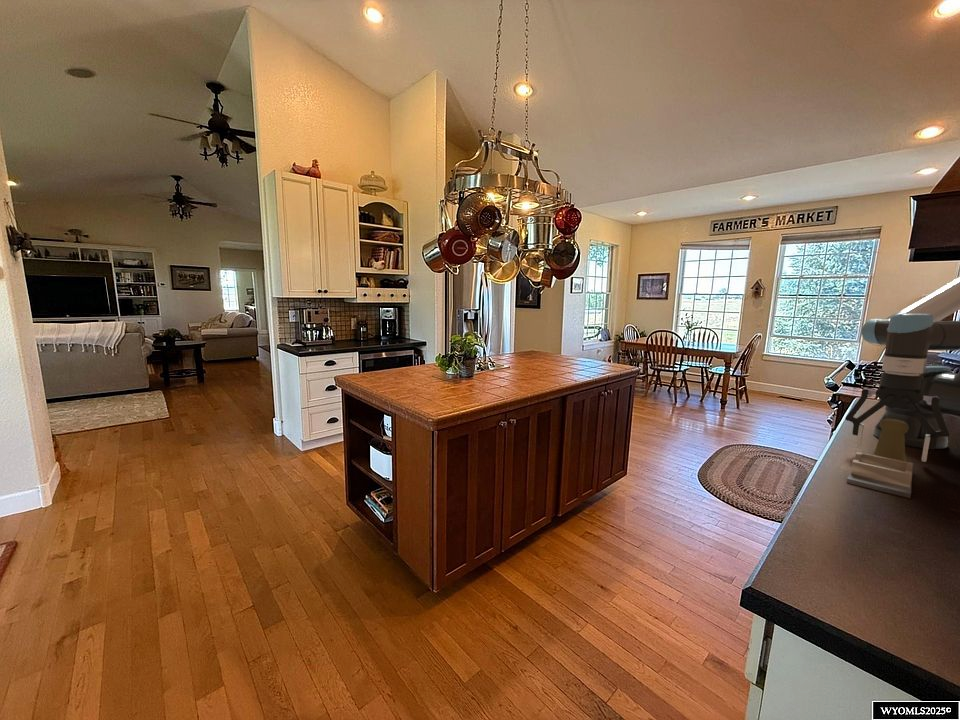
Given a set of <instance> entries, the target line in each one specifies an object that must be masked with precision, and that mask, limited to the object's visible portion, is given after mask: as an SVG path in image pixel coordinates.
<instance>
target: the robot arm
mask: <svg viewBox="0 0 960 720" xmlns="http://www.w3.org/2000/svg"><path fill="white" fill-rule="evenodd" d="M957 311H960V276H958V277H956V278H954V279H952V280H951V281H949V282H948V283H946V284H944V285H942V286H941V287H939V288H937V289H935V290H933V291H932V292H930V293H928V294H927V295H925V296H923V297H921V298H920V299H917V300H916V301H914V302H913V303H910V305H908V306H906V307H904V308H902V309H900V310H899V311H897V312H895V313H893V314H892V315H890V316H888V317H886V318H882V317H879V318H871V319H868V320H867V321H866V322H865V323H864V324H863V325H862V327H861V332H860V333H861V337H862V339H863V340H864V341H865V342H867V343H870V344H876V345H880V346H885V348H884V349H885V350H884V355H883V361H882V368H881V369H882V370H881V371H883V372H882V373H881V375H880V379H879V380H880V381H879V386H878V388H877V389H870V388H869V387H864V388H863V389H862V390H861V395H860V398H859V399H858V400H857V401H856V403H855V404H854V405H853V407H851V410H850V411H849V413H847V415H846V416H845V421H847V422H848V421H849V422H850V423H852V424H853V428H852V431H851V432H852V436H857V437H856V438H857V439H856V445H855V449H861V447H862V440H863V434H864V427H865V423H863V422H864V421H866V420H867V419H868V418H870V417H871V416H872V415H874V414H875V413H876V412H878V411H879V410H880V409H882V408H884V407H885V409H884V413H883V414H882V415H881V417H880V419H879V420H878V422H877V423H876V425H875V426H874V428H873V435H874V436H875V438H878V439H879V438H880V435H881V432H882V429H881V428H880V422H881V421H882V420H883V419H896V420H901V421H904V422H906V423H907V424H908V426H909V429H908V431H907V432H906V433H905V434H904V436H905V446H908V447H914V448H921V449H922V454H921V462H925V463H926V462H927V460H928V454H929V452H928V451H929V449H930V450H935V449H936V450H937V449H938V450H940V449H941V450H942V449H946V448H948V445H949V444H948V443H949V439H948V437H949V436H950V435H951V434H950V431H949V428H948V425H947V424H946V420H945V418H944V415H947V416H951V417H956V418H959V419H960V370H959V372H958V373H954V372H953V371H952V369H951V367H949V366H946V365H945V366H943V365H942V366H941V365H938V366H937V365H927V360H928V353H929V351H951V352H956V351H960V320H943V319H945V318H947V317H949V316H951V315H952V314H954V313H957ZM873 395H876V397H878V399H879V401H878V402H876V404H874V405H872V406H871V407H870V408H868V409H867V410H866V411H864V413H862V414H860V415H859V416H858V417H855V415H856V414H857V412H858V411H859V410H860V409H861V408H862V406H863V405H864V403H865V402H866V400H868V398H872V396H873Z"/></svg>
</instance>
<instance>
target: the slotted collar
mask: <svg viewBox="0 0 960 720" xmlns="http://www.w3.org/2000/svg"><path fill="white" fill-rule="evenodd" d="M913 466H914V463H913V462H910V461H906V460H905V461H901V460H896V459H891V458H886V457H881V456H876V455H874V454H871V453H867V452H866V453H865V452H861V451H856V453H855V458H854V459H852V463H851V468H850V471H849V474H848V476H847V479H846V483H847V484H851V485H855V486H859V487H862V488H863V487H864V488H868V489H871V490H876V491H879V492H883V493H887V494H891V495H895V496H899V497H903V498H908V499H911V496H912V484H913V483H912V482H913Z"/></svg>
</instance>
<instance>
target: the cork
mask: <svg viewBox="0 0 960 720" xmlns="http://www.w3.org/2000/svg"><path fill="white" fill-rule="evenodd" d="M880 428H881V429H882V432H881V435H880V438H878V441H877V444H876V447H875V449H874V452H873V455H876V456H881V457H886V458H891V459H896V460H901V461H906V445H905V436H904V434H905V433H906V432H907V431H908V429H909V426H908V424H907V423H906V422H904V421H901V420H896V419H883V420H882V421H881V422H880Z"/></svg>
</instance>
